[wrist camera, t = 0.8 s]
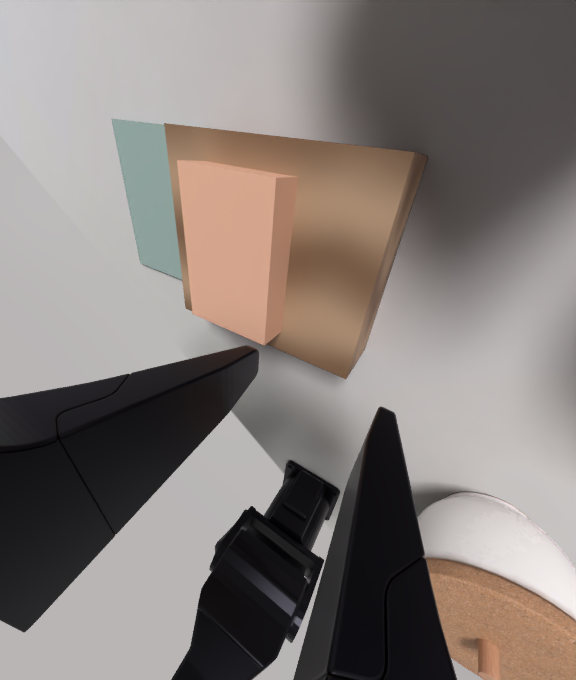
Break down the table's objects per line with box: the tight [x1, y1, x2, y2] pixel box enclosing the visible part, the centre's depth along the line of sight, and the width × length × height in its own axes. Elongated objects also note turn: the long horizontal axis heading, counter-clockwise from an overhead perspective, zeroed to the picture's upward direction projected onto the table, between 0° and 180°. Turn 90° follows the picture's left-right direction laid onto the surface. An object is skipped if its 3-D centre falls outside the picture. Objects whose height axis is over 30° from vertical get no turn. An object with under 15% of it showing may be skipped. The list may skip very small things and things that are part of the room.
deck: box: [164, 123, 428, 379], centre depth 18 cm, size 12×14×4 cm
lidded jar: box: [417, 492, 576, 680], centre depth 19 cm, size 11×11×9 cm
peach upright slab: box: [177, 160, 298, 345], centre depth 16 cm, size 9×6×2 cm, turn 173°
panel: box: [112, 119, 182, 280], centre depth 24 cm, size 12×10×1 cm
